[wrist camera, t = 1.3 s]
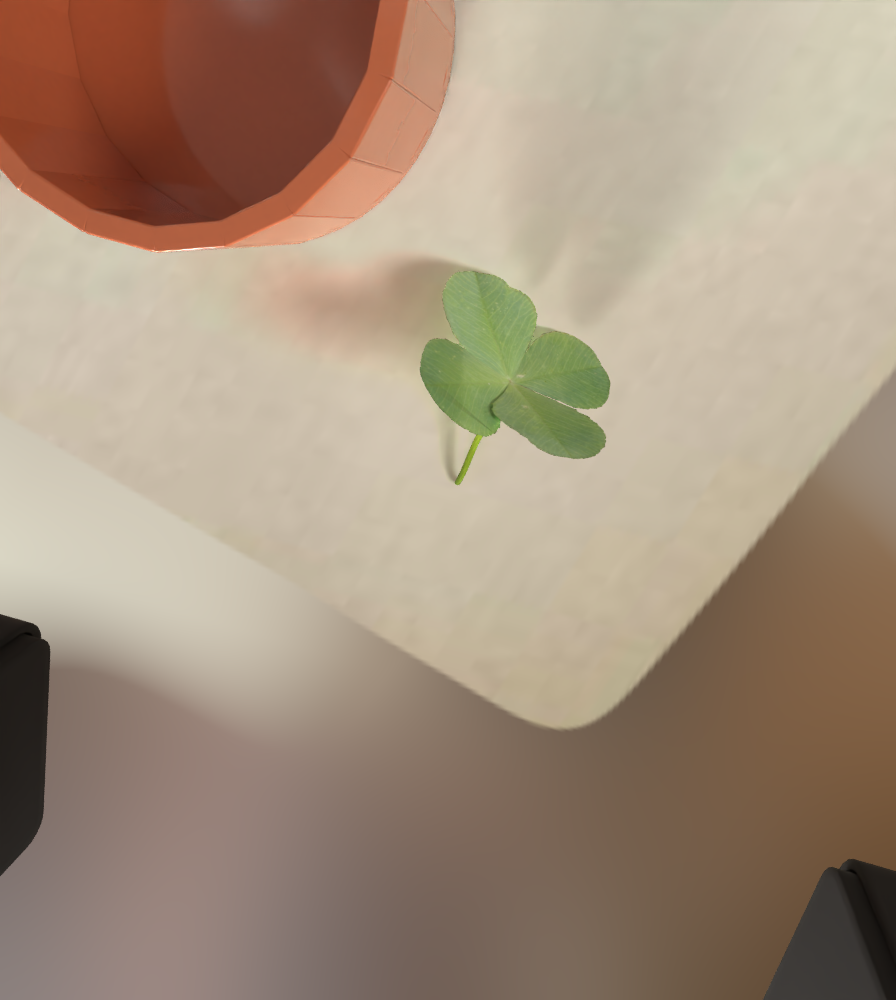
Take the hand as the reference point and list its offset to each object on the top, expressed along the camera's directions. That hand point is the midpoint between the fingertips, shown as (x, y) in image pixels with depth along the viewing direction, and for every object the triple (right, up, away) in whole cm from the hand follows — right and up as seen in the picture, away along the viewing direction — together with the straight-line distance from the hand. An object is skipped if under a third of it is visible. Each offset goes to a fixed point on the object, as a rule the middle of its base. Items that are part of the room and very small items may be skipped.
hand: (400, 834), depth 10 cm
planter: (-6, +19, +17) cm, 26 cm away
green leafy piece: (+2, +9, +20) cm, 21 cm away
